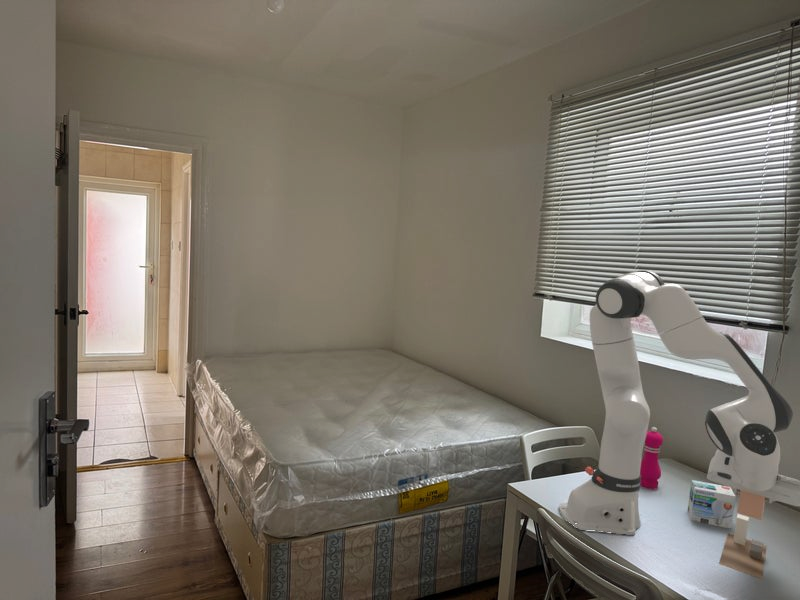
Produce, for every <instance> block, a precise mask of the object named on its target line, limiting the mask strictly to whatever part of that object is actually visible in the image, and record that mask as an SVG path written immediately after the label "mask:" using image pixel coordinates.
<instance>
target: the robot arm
mask: <svg viewBox="0 0 800 600" xmlns="http://www.w3.org/2000/svg"><path fill="white" fill-rule="evenodd" d="M641 315H642V316H645V317H647V318H649V320H650V321H651V322H652V324H653V325H654V328H655V330H656V333H657V334H658V336H659V338H660V340H661V342H662V344H663V345H664V347H665V348H666V349H667V350H668V352H669V353H670V354H672V355H673V356H675V357H678V358H679V359H680V358H681V359H685V360H719V361H721V362H723V363H725V364H727V365H728V366H729V367H730V368H731V370H732V371H733V372H734V373H735V375H736V376H737V377H738V379H739V380H740V381H741V382H742V384H743V385H744V387H746V389H747V390H748V394H747V395H746V396H743V397H740V398H738V399H735V400H732V401H730V402H726V403H724V404H721V405H718V406H715V407H713V408H711V409H709V410H708V411H707V412H706V414H705V419H704V425H705V429H706V433H707V434H708V437H709V438H710V440H711V442H712V443H713V444H714V446H715V447H716V448H717V450H716V451H715V454H714V456H713V457H712V458H711V459H710V462H709V466H708V470H707V473H706V474H707V475H706V479H707V480H709V482H712V483H714V484H715V483H716V484H718V485H722V486H727V487H730V488H731V489H732V491H733V493H734V494H737V495H740V491H741V490H743V491H746V492H749V493H753V494H756V495H760V496H763V497H765V503H767V504H772V502H781V503H784V504H787V505H791V506H794V507H800V480H799V479H796V478H793V477H789V476H786V475H782V474H779V465H780V462H781V447H780V443H779V440H778V436H777V434H776V433H778V432H779V433H780V432H781V431H785V430H786V431H787V429H788V428H789V426H790V425H791V422H792V419H793V418H794V417H793V416H794V413H793V409H792V407H791V405H790V403H789V402H788V401H787V400H786V399H785V397H783V396H782V395H781V394H780V392H779V391H778V390H777V389H775V387H774V386H773V385H772V384H771V383H770V382H769V380H768V379H767V378H766V377H765V376H764V374H763V373H762V371H760V369H759V368H758V367H757V365H756V364H755V363H754V362H753V360H752V359H751V358H750V357H749V355H748V354H747V353H746V352H745V351H744V349H743V348H742V347H741V346H740V344H738V343H737V341H736V340H735V339H734V338H733V337H732V336H730V335H729V334H728V333H727V332H720V331H717V330H716V329H714V328H713V327H712V326H711V325H710V324H709V323H708V322H707V321H706V320H705V317H704V316H703V315H702V313H701V311H700V309H699V307H698V306H697V304H696V303H695V301H694V300H693V298H691V296H690V295H689V294H688V292H687V291H686V290H685V288H684V287H682V286H681V285H679V284H676V283H666V284H665V282H664V280H663V279H662V277H661V276H660V275H658V274H657V273H655V272H654V271H651V270H637V271H634V272H628V273H624V274H622V275H620V276H617V277H615V278H612V279H609V280H608V281H605V282H603V284H601V286H600V287H599V288H598V289H597V292H596V294H595V304H594V306H593V307H591V309H590V311H589V332H590V339H591V344H592V349H593V353H594V358H595V363H596V369H597V373H598V378H599V382H600V387H601V393H602V398H603V403H604V407H605V419H604V426H603V431H602V432H603V433H602V438H601V441H600V450H599V461H598V465H597V467H596V468H595V469H593V468H592V467H591V466H587V467H586V468H585V469H584V471H585V472H586V474H588V476H591V478H590V479H589V480H587V481H585V482H584V483H582V484H581V485H579V486H578V487H576V488H574V489H572V490H571V491H570V494H569V497H568V499H567V502H562V503H560V504H559V507H558V511H559V510H560V512H561V514H562V515H563V517H564V518H565V519H566V520H567V521H568V522H570V523H571V524H572V525H574V526H575V527H577V528H578V529H580V530H595V531H603V532H611V533H616V534H615V535H622V534H626V535H625V536H635V534H636V530H638V529H639V528H640V527H641V519H640V513H639V492H640V489H641V485H640V484H641V475H640V469H641V461H642V459H643V451H644V444H645V439H646V434H647V432H648V431H649V429H648V428H649V423H650V418H651V410H650V406H649V404H648V402H647V399H646V396H645V395H644V389H643V384H642V378H641V372H640V364H639V363H640V362H639V358H638V354H637V348H636V343H635V340H634V339H635V338H634V335H633V334H634V333H633V329H632V324H631V323H632V321H631V320H632V318H634V319H635V318H639V317H640V316H641ZM560 512H559V513H560ZM561 514H560V515H561ZM562 515H561V516H562ZM563 517H562V518H563ZM564 518H563V519H564ZM565 519H564V520H565ZM566 520H565V521H566ZM567 521H566V522H567ZM568 522H567V523H568ZM575 523H577V524H575ZM572 525H571V526H572ZM575 527H574V528H575ZM578 529H577V530H578ZM580 530H579V531H580ZM611 533H610V534H611Z"/></svg>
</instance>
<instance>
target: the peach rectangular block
mask: <svg viewBox="0 0 800 600" xmlns="http://www.w3.org/2000/svg"><path fill="white" fill-rule="evenodd" d="M738 498H739V499H738V505H737V511H736V513H737V514H740V515H743V516H747V517H749V518H752V519H756V520H760V521H762V520H763V515H764V510H765V509H764V508H765V503H766V502H765V497H763V496H760V495H756V494H753V493H749V492H746V491H743V490H741V491H740V494H739V497H738Z"/></svg>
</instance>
